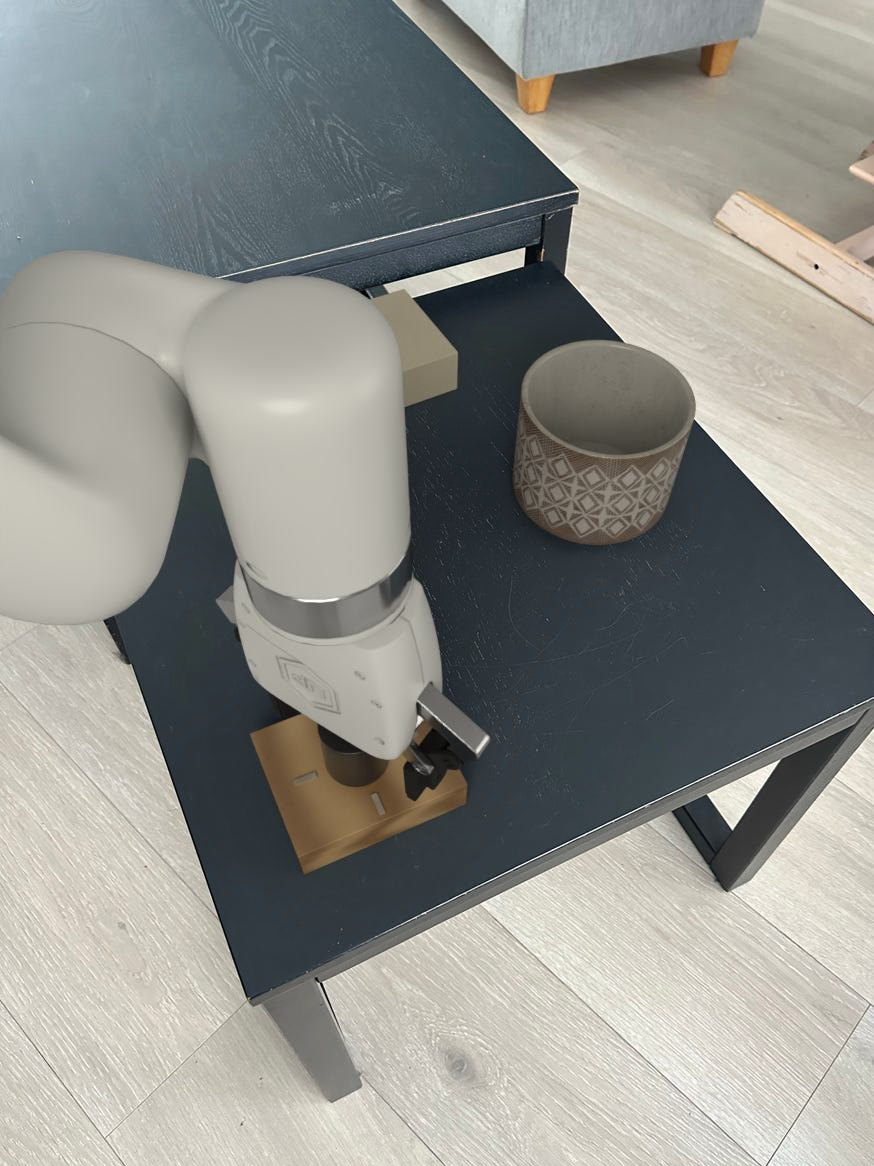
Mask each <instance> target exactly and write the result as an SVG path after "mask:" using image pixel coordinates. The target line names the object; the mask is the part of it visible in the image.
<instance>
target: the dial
mask: <svg viewBox="0 0 874 1166" xmlns="http://www.w3.org/2000/svg"><path fill="white" fill-rule="evenodd" d="M317 729H318V735H319V739H320V743H321V748H322V752H323V757H324V761H325V766H326V769H327V771H328V773H329V774H330V776H331V777H332V778H333V779H334V780H335V781H337V782H338V783H340V784H342V785H345V786H349V787H362V786H366V785H369V784H371V783H373V782H375V781H376V780H377V779H379V778H380V777H381V776H382V775H383V773H384V772H385V770H386V768H387V766H388V763H389V760H386V759H381V758H377V757H375V756H372V755H370V754H368V753H367V752H365V751H363V750H361V749H360V748H358V747H356V746H354V745H353V744H351V743H349V742H348V741H346V740H344V739H343V738H341V737H340V736H338V735H336V734H335V733H333V732H331V731H330V730H328V729H326V728H325V727H323V726H322V725H320V724H317Z"/></svg>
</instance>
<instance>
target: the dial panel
mask: <svg viewBox="0 0 874 1166" xmlns="http://www.w3.org/2000/svg"><path fill="white" fill-rule="evenodd" d="M317 724H318V723H317V722H315V721H314V720H312V719H310V718H309V717H307V716H306V715H304V714H302V713H300V714H297V715H294V716H292V717H288V718H285V719H284V720H281V721H279V722H276V723H274V724H271V725H268V726H266V727H262V728H261V729H258V730H255V731H253V732H250V733H249V736H250V739H251V741H252V744H253V747H254V750H255V753H256V756H257V758H258V760H259V763H260V766H261V768H262V771H263V773H264V776H265V779H266V781H267V784H268V786H269V789H270V792H271V793H272V796H273V799H274V802H275V804H276V807H277V810H278V811H279V814H280V816H281V817H280V818H281V819H282V822H283V824H284V827H285V829H286V832H287V834H288V838H289V840H290V843H291V844H292V848H293V850H294V852H295V854H296V858H297V861H298V863H299V866H300V868H301V870H302V874H303V875H306V874H309V873H311V872H313V871H316V870H318V869H320V868H323V867H325V866H327V865H329V864H333V863H334V862H337V861H339V860H342V859H343V858H345V857H348V856H351V855H352V854H355V853H357V852H359V851H362V850H364V849H366V848H369V847H371V846H373V845H375V844H379V843H380V842H382V841H384V840H387V839H389V838H391V837H393V836H396V835H399V834H400V833H403V832H406V831H407V830H409V829H412V828H415V827H417V826H419V825H422V824H424V823H425V822H428V821H430V820H433V819H435V818H437V817H440V816H442V815H445V814H446V813H448V812H451V811H453V810H456V809H457V808H461V807H463V806H465V805H466V804H467V798H468V797H467V794H468V782H467V780H466V779H465V777H464V775H463V772H462V771H461V769H460V768H459V769H458V770H447V772H446V774H445V776H444V778H443V779H442V781H441V782H440V783H439V785H438V786H437V787H436V788H435V789H434V790H431V789H430V788H428V787H426V789H425V790H424V791H423V793H422V794H421V795H420V797H419V798H418V799H417V800H416V801H415V802H414V801H413V800H411V799H409V798H408V797H407V794H406V793H405V784H404V774H403V766H404V764H405V763H406V761H407V759H406V758H405V757H404V756H403V754H401V755H400V756H399V757H398V758H397V759H393V760H389V763H388V766H387V768H386V770H385V772H384V773H383V775H382V776H381V777H380V778H379V779H377V780H376V781H375V782H373V783H371V784H369V785H366V786H362V787H349V786H345V785H342V784H340V783H338V782H337V781H335V780H334V779H333V778H332V777H331V776H330V774H329V773H328V771H327V769H326V766H325V761H324V757H323V752H322V748H321V743H320V739H319V735H318V729H317ZM429 731H430V729H429V727H428V726H427V725H426V724H425V722H424V721H423V723H422V724H421V725H420V726H419V728H418V729H417V730H416V731H415V733H414V735H413V739H414V741H415V742H416V743H417V744H418V745H419V744H420V743H421V742H422V740H423V739H424V738H425V736H426V735H427V734H428V733H429Z"/></svg>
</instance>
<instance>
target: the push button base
mask: <svg viewBox="0 0 874 1166" xmlns="http://www.w3.org/2000/svg"><path fill="white" fill-rule="evenodd" d="M369 300H370V301H371V302H372V303H374V304H375V305H376V306H377V307H378V309H379V310H380V311H381V312H382V313H383V314H384V315H385V317H386V318H387V320H388V322H389V324H390V326H391V328H392V329H393V331H394V333H395V335H396V338H397V342H398V345H399V348H400V355H401V364H402V372H403V390H404V408H407V407H409V406H413V405H415V404H418V403H421V402H424V401H427V400H430V399H432V398H435V397H437V396H441V395H444V394H446V393H449V392H452V391H455V390H457V389H458V370H459V369H458V368H459V367H458V365H459V363H458V362H459V352H458V350H457V349H456V348H455V347H454V346H453V345H452V343H451V342H450V340H448V338H447V337H445V335H444V334H443V333H442V331H440V329H439V328H438V326H436V324H435V323H434V322H433V321H432V319H431V318H430V317H429V316H428V315H427V313H425V311H424V310H423V309H422V308H421V307H420V306H419V304H418V303H417V302H416V301H415V299H413V297H412V296H411V295H410V294H409V293H408V291H406V289H405V288H401V289H399V290H396V291H392V292H389V293H386V294H383V295H380V296H377V297H372V298H369Z"/></svg>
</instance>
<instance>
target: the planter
mask: <svg viewBox="0 0 874 1166" xmlns="http://www.w3.org/2000/svg"><path fill="white" fill-rule="evenodd" d="M696 411H697V403H696V397H695V394H694V391H693V388H692V386H691V384H690V382H689V381H688V379H687V378H686V376H684V374H683V373H682V372H681V371H680V370H679V369H678V368H676V366H675V365H674V364H672V363H671V362H669V360H667V359H666V358H664V357H662V356H660V355H659V354H657V353H655V352H653V351H651V350H649V349H646V348H644V347H641V346H638V345H634V344H631V343H627V342H623V341H617V340H608V339H587V340H578V341H573V342H569V343H566V344H562V345H560V346H557V347H554V348H552V349H551V350H549V351H547V352H545V353H544V354H542V355H540V357H538V358H537V359H536V360H535V361H534V362H533V363H532V364H531V365H530V367H529V368H528V369H527V371H526V372H525V374H524V376H523V379H522V383H521V388H520V399H519V410H518V419H517V429H516V438H515V439H516V440H515V449H514V457H513V458H514V459H513V467H512V468H513V469H512V477H511V478H512V481H511V482H512V489H513V494H514V496H515V499H516V501H517V503H518V505H519V507H520V508H521V510H522V511H523V513H524V514H525V515H526V516H527V517H528V519H530V520H531V521H532V522H533V523H534V524H535V525H537V526H538V527H539V528H540V529H542V530H544V531H545V532H547V533H549V534H550V535H553V536H554V537H557V538H560V539H561V540H565V541H569V542H572V543H576V544H580V545H588V546H589V545H590V546H608V545H609V546H610V545H615V544H616V545H617V544H620V543H624V542H628V541H631V540H633V539H636V538H638V537H640V536H642V535H643V534H646V532H648V531H650V530H651V529H652V528H653V527H654V526H655V525H656V524H657V523H658V522H659V521H660V519H662V516H663V515H664V514H665V511H666V509H667V506H668V504H669V501H670V497H671V495H672V490H673V487H674V484H675V481H676V478H677V475H678V472H679V468H680V465H681V462H682V459H683V455H684V452H685V449H686V446H687V442H688V440H689V436H690V434H691V430H692V427H693V424H694V421H695V417H696V413H697V412H696Z"/></svg>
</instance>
